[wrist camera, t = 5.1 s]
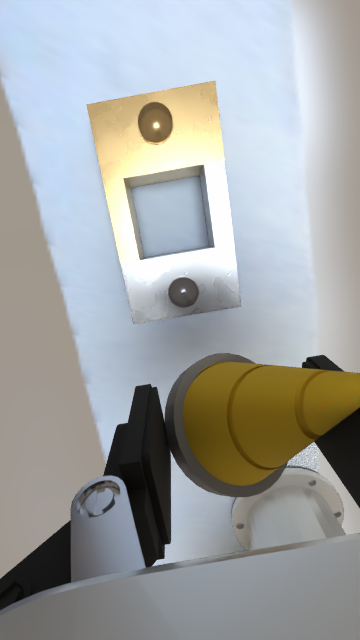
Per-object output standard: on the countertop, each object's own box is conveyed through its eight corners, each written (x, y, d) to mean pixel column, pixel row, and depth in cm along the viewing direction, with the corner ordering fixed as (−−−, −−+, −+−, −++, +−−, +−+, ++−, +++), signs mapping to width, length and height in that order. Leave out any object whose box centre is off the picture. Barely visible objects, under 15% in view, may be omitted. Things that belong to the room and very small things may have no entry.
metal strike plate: (232, 297, 28) (243, 307, 24) (139, 312, 29) (132, 326, 24) (208, 106, 24) (216, 76, 20) (100, 126, 25) (83, 100, 20)
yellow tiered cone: (134, 383, 15) (257, 273, 6) (225, 369, 17) (400, 275, 9) (156, 507, 13) (371, 579, 4) (254, 472, 15) (512, 476, 7)
